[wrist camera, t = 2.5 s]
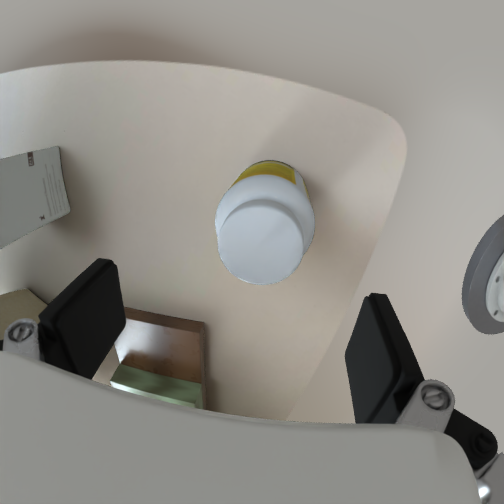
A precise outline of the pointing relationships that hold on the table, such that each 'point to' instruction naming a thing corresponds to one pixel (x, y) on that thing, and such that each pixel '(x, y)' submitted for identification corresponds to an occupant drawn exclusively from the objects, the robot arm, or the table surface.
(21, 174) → the cosmetic box
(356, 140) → the table surface
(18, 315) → the flower pot
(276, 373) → the table surface
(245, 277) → the pill bottle
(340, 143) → the table surface
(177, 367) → the tier shelf
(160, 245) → the table surface
